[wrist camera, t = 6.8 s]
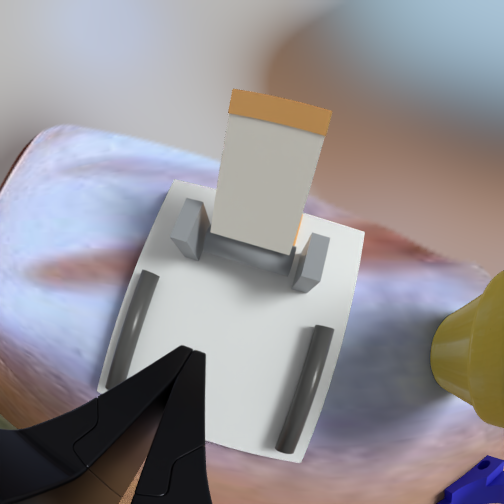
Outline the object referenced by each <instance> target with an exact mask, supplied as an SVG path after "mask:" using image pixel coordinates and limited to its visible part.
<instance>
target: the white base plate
mask: <svg viewBox="0 0 504 504" xmlns="http://www.w3.org/2000/svg"><path fill="white" fill-rule="evenodd" d="M215 196H216V189H213V188H209V187H205V186H201V185H197V184H192V183H188V182H184V181H179V180H175V179H174V181H173V183H172V185H171V187H170V189H169V191H168V193H167V196H166V198H165V200H164V202H163V204H162V206H161V208H160V210H159V213H158V215H157V217H156V219H155V222H154V224H153V226H152V228H151V231H150V233H149V235H148V238H147V240H146V242H145V245H144V247H143V250H142V252H141V255H140V257H139V260H138V262H137V265H136V267H135V270H134V272H133V275H132V278H131V280H130V283H129V286H128V289H127V291H126V294H125V297H124V300H123V303H122V306H121V309H120V312H119V315H118V318H117V321H116V324H115V327H114V330H113V333H112V337H111V340H110V343H109V347H108V350H107V354H106V357H105V361H104V365H103V368H102V372H101V376H100V380H99V384H98V388H97V392H99V393H101V394H103V393H105V392H106V391H108V390H110V389H111V388H113V387H115V386H116V385H118V384H120V383H121V382H123V381H125V380H126V379H128V378H129V377H131V376H133V375H134V374H136V373H138V372H139V371H141V370H142V369H144V368H146V367H147V366H149V365H150V364H152V363H154V362H155V361H157V360H158V359H160V358H161V357H163V356H165V355H166V354H168V353H169V352H171V351H172V350H174V349H175V348H177V347H179V346H180V345H184V346H187V347H190V348H192V349H193V351H194V350H198V351H201V352H204V353H205V354H206V385H205V440H206V441H209V442H213V443H216V444H219V445H222V446H226V447H229V448H233V449H236V450H240V451H244V452H248V453H252V454H256V455H260V456H265V457H270V458H275V459H280V460H285V461H291V462H297V463H301V461H302V459H303V457H304V454H305V452H306V449H307V447H308V445H309V442H310V440H311V437H312V434H313V432H314V429H315V426H316V424H317V421H318V418H319V416H320V413H321V410H322V407H323V404H324V401H325V398H326V395H327V392H328V389H329V386H330V383H331V380H332V376H333V373H334V370H335V366H336V363H337V359H338V356H339V352H340V349H341V345H342V341H343V337H344V334H345V330H346V326H347V321H348V317H349V313H350V309H351V304H352V300H353V295H354V290H355V285H356V280H357V275H358V270H359V264H360V259H361V253H362V247H363V240H364V234H365V232H363V231H360V230H357V229H354V228H350V227H347V226H344V225H341V224H338V223H335V222H332V221H328V220H325V219H322V218H319V217H315V216H312V215H309V214H305V213H302V217H301V220H300V223H299V226H298V230H297V233H296V236H295V239H294V242H293V246H296V252H295V256H294V260H293V264H292V267H291V270H290V273H289V275H288V277H286V276H282V275H279V274H276V273H272V272H269V271H265V270H262V269H259V268H255V267H252V266H249V265H245V264H242V263H239V262H235V261H232V260H229V259H225V258H222V257H219V256H215V255H212V254H209V253H205V252H204V251H203V245H204V239H205V236H206V233H207V230H208V228H209V226H210V225H211V223H212V216H213V209H214V202H215Z"/></svg>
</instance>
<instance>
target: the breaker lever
mask: <svg viewBox="0 0 504 504" xmlns="http://www.w3.org/2000/svg"><path fill="white" fill-rule="evenodd" d="M228 113H229V118H228V124H227V129H226V135H225V141H224V146H223V152H222V158H221V164H220V170H219V176H218V183H217V189H216V196H215V202H214V209H213V216H212V223H211V225H210V226H209V228H208V230H207V233H206V236H205V239H204V245H203V251H204V252H205V253H209V254H212V255H215V256H219V257H222V258H225V259H229V260H232V261H235V262H239V263H242V264H245V265H249V266H252V267H255V268H259V269H262V270H265V271H269V272H272V273H276V274H279V275H282V276H286V277H288V275H289V273H290V270H291V267H292V264H293V260H294V256H295V252H296V246H293V242H294V239H295V236H296V233H297V230H298V226H299V223H300V220H301V217H302V213H303V210H304V207H305V203H306V200H307V197H308V193H309V189H310V186H311V183H312V179H313V176H314V173H315V169H316V165H317V162H318V158H319V155H320V151H321V148H322V144H323V140H324V137H325V136H326V134H327V130H328V126H329V123H330V119H331V115H332V111H330V110H327V109H323V108H320V107H316V106H312V105H309V104H305V103H301V102H297V101H293V100H289V99H285V98H280V97H275V96H271V95H266V94H261V93H255V92H250V91H243V90H238V89H233V90H232V95H231V101H230V106H229V111H228Z"/></svg>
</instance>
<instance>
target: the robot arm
mask: <svg viewBox="0 0 504 504" xmlns="http://www.w3.org/2000/svg"><path fill="white" fill-rule="evenodd" d="M205 385H206V354H205V353H204V352H201V351H198V350H194V351H193V349H192V348H190V347H187V346H184V345H180V346H179V347H177V348H175V349H174V350H172V351H171V352H169V353H168V354H166V355H165V356H163V357H161V358H160V359H158V360H157V361H155V362H154V363H152V364H150V365H149V366H147V367H146V368H144V369H142V370H141V371H139V372H138V373H136V374H134V375H133V376H131V377H129V378H128V379H126V380H125V381H123V382H121V383H120V384H118V385H116V386H115V387H113V388H111V389H110V390H108V391H106V392H105V393H103V394H101V395H100V396H98V398H94V399H93V400H91V401H89V402H87V403H86V404H84V405H82V406H80V407H78V408H76V409H74V410H72V411H70V412H68V413H65V414H63V415H61V416H58V417H56V418H53V419H50V420H48V421H45V422H42V423H40V424H37V425H34V426H31V427H28V428H24V429H18V430H9V429H0V504H119V502H120V500H121V499H122V498H121V497H123V495H124V494H125V492H126V490H127V489H128V487H129V485H130V484H131V482H132V480H133V479H134V477H135V475H136V474H137V472H138V470H139V469H140V467H141V465H142V463H143V462H144V460H145V458H146V457H147V458H146V461H145V464H144V467H143V470H142V472H141V475H140V478H139V481H138V484H137V487H136V490H135V494H134V496H133V499H132V501H131V504H212V500H211V496H210V491H209V485H208V479H207V472H206V451H205Z"/></svg>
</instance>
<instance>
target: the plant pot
mask: <svg viewBox="0 0 504 504" xmlns="http://www.w3.org/2000/svg"><path fill="white" fill-rule="evenodd" d="M430 363H431V369H432V373H433V376H434V378H435V380H436V382H437V383H438V384H439V385H440V386H441V387H442V388H443V389H445V390H446V391H448V392H450V393H452V394H453V395H455V396H457V397H458V398H460V399H462V400H463V401H465V402H467V403H469V404H470V405H472V406H473V407H474V409H475V411H476V413H477V415H478V416H479V417H480V418H481V419H482V420H483V421H484V422H486V423H488V424H491V425H494V426H498V427H502V428H504V270H503V271H502V272H500V273H499V274H497V275H496V276H495V277H494V278H493V279H492V280H491V281H490V283H489V284H488V285H487V287H486V289H485V290H484V292H483V294H481V295H480V296H479V297H477V298H476V299H474V300H473V301H471V302H470V303H468V304H467V305H465V306H463V307H462V308H460V309H459V310H457V311H455V312H454V313H452V314H450V315H449V316H448V317H446V318H445V319H444V320H443V322H442V323H441V324H440V326H439V327H438V329H437V331H436V333H435V335H434V338H433V341H432V345H431V352H430Z"/></svg>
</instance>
